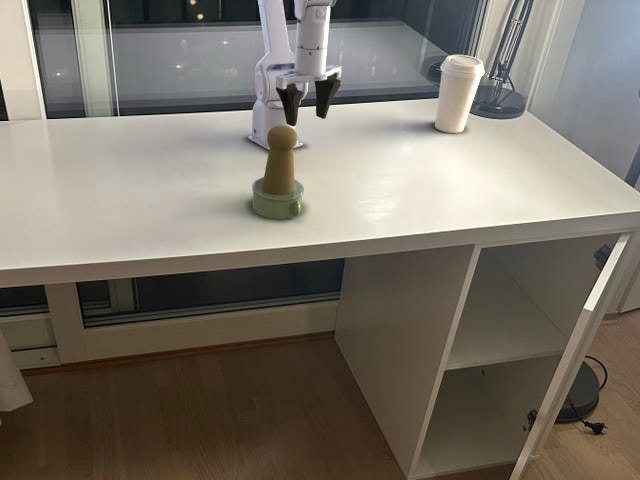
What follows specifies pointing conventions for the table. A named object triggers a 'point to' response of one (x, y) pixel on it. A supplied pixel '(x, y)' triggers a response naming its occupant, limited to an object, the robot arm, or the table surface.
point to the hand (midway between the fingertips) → (306, 120)
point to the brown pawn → (280, 161)
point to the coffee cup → (457, 91)
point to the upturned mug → (277, 202)
